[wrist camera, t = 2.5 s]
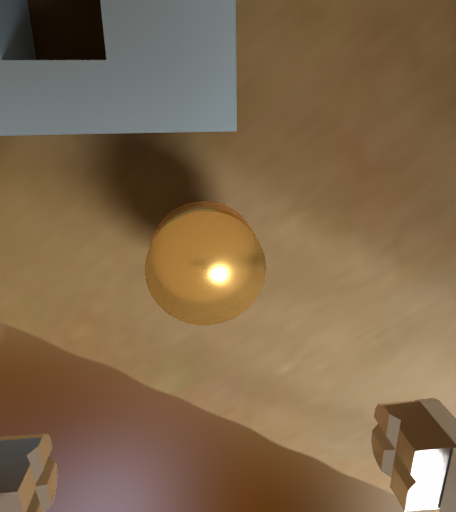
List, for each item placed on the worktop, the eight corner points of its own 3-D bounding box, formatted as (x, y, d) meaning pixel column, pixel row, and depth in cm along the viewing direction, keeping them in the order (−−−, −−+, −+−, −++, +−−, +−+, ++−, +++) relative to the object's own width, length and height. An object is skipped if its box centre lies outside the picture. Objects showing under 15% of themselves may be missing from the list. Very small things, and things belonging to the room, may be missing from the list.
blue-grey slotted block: (-119, -106, 20) (-211, -174, 16) (224, -95, 22) (234, -155, 17) (-61, 134, 24) (-120, 138, 20) (228, 129, 26) (236, 131, 21)
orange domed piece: (246, 186, 27) (266, 210, 20) (246, 272, 29) (265, 321, 22) (152, 189, 27) (139, 214, 19) (159, 276, 29) (150, 328, 22)
